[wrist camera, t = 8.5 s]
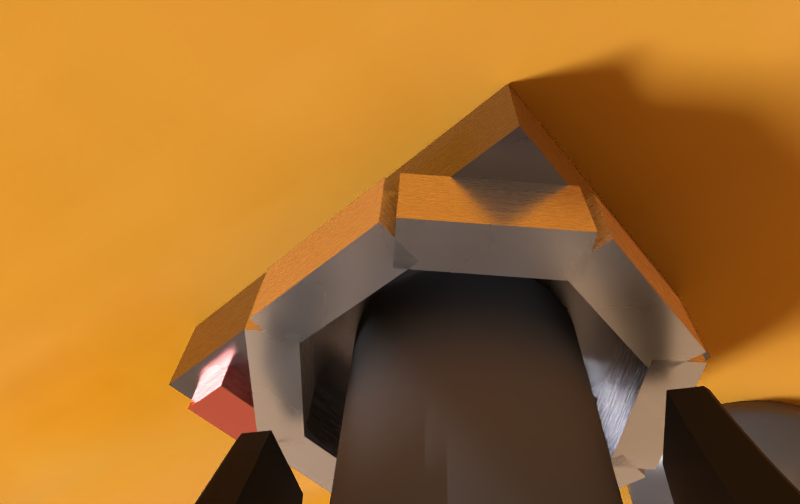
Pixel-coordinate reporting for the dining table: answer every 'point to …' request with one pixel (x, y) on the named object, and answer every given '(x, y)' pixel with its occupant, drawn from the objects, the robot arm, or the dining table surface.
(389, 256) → the grey octagonal container
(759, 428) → the lens cap
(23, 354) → the dining table surface
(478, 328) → the lens
